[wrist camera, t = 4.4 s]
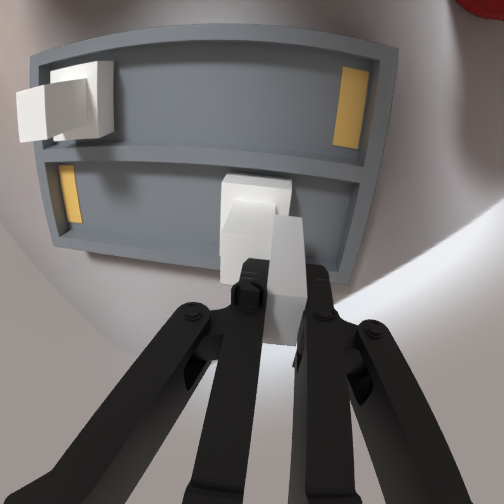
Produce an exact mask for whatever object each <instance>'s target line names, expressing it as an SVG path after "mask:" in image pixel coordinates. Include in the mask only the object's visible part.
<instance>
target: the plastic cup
mask: <svg viewBox="0 0 504 504" xmlns="http://www.w3.org/2000/svg"><path fill="white" fill-rule="evenodd" d="M456 1H457V2H458V3H459V4H460V5H461V6H463V7H464V8H465V9H466V10H467V11H469V12H471V13H473V14H475V15H477V16H479V17H482V18H485V19H494V20H502V21H504V0H456Z"/></svg>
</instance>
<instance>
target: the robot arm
mask: <svg viewBox="0 0 504 504" xmlns="http://www.w3.org/2000/svg"><path fill="white" fill-rule="evenodd" d="M329 280H330V279H329V272H328V271H327V270H326V268H325V267H324V266H323V265H316V264H307V263H305V250H304V236H303V223H302V218H301V217H293V216H284V215H275V216H274V226H273V236H272V245H271V254H270V260H264V259H255V258H248V259H247V260H246V261H245V262H244V263H243V265H242V269H241V274H240V278H239V281H238V282H237V283H235V284H234V285H233V287H232V288H231V305H229V306H228V307H226V308H223V309H219V310H211V311H210V310H209V309H208V308H207V306H205V305H203V304H201V303H197V302H189V303H185V304H183V305H181V306H180V307H179V308H177V309H176V311H175V312H174V313H173V314H172V316H171V317H170V318H169V319H168V321H167V322H166V323H165V324H164V326H163V327H162V328H161V329H160V331H159V332H158V333H157V334H156V336H155V337H154V338H153V339H152V341H151V342H150V343H149V344H148V346H147V347H146V348H145V349H144V351H143V352H142V353H141V354H140V356H139V357H138V358H137V359H136V361H135V362H134V363H133V365H132V366H131V367H130V368H129V370H128V371H127V372H126V374H125V375H124V376H123V377H122V379H121V380H120V381H119V382H118V384H117V385H116V386H115V388H114V389H113V390H112V391H111V393H110V394H109V395H108V397H107V398H106V399H105V400H104V402H103V403H102V404H101V406H100V407H99V409H98V410H97V411H96V412H95V413H94V415H93V416H92V417H91V419H90V420H89V421H88V423H87V424H86V426H85V427H84V428H83V429H82V431H81V432H80V433H79V435H78V436H77V437H76V439H75V440H74V441H73V442H72V444H71V445H70V446H69V448H68V449H67V450H66V452H65V453H64V455H63V456H62V457H61V459H60V460H59V461H58V463H57V464H56V465H55V467H54V468H53V469H52V471H50V472H48V473H47V474H45V475H43V476H42V477H40V478H38V479H36V480H35V481H33V482H32V483H30V484H28V485H26V486H24V487H23V488H21V489H19V490H17V491H16V492H14V493H12V494H10V495H9V496H8V497H7V498H6V499H5V501H4V504H125V502H126V501H127V499H128V498H129V496H130V495H131V493H132V492H133V490H134V488H135V487H136V485H137V484H138V482H139V480H140V479H141V477H142V475H143V474H144V472H145V471H146V469H147V467H148V466H149V464H150V463H151V461H152V460H153V458H154V456H155V455H156V453H157V452H158V450H159V448H160V447H161V445H162V443H163V442H164V440H165V438H166V437H167V435H168V434H169V432H170V430H171V429H172V427H173V425H174V424H175V422H176V420H177V419H178V417H179V415H180V414H181V412H182V411H183V409H184V407H185V405H186V404H187V402H188V400H189V399H190V397H191V396H192V394H193V392H194V391H195V389H196V387H197V386H198V383H199V382H200V380H201V379H202V377H203V376H204V374H205V372H206V370H207V369H208V367H209V365H210V364H211V361H212V360H218V363H217V367H216V372H215V376H214V380H213V385H212V389H211V393H210V398H209V403H208V407H207V411H206V415H205V420H204V424H203V429H202V433H201V438H200V442H199V446H198V451H197V455H196V460H195V464H194V469H193V473H192V477H191V481H190V483H189V484H188V486H187V488H186V490H185V494H184V497H183V501H182V504H242V503H243V495H244V486H245V479H246V472H247V464H248V456H249V449H250V441H251V433H252V425H253V417H254V409H255V400H256V393H257V384H258V376H259V367H260V358H261V349H262V343H269V344H277V345H288V346H296V343H297V351H296V355H295V358H294V362H293V366H292V367H295V380H294V409H293V431H292V432H293V433H292V452H291V468H290V482H289V495H288V504H362V500H361V497H360V496H359V495H358V494H357V493H356V491H355V481H354V455H353V438H352V424H351V411H350V401H351V404H352V406H353V409H354V412H355V415H356V418H357V420H358V423H359V426H360V429H361V431H362V434H363V437H364V440H365V442H366V446H367V448H368V451H369V454H370V457H371V460H372V463H373V466H374V469H375V472H376V475H377V478H378V481H379V484H380V487H381V490H382V493H383V496H384V499H385V502H386V504H473V503H472V502H471V500H470V497H469V494H468V492H467V489H466V487H465V484H464V482H463V479H462V477H461V475H460V472H459V469H458V467H457V465H456V463H455V460H454V458H453V455H452V453H451V451H450V449H449V446H448V444H447V442H446V440H445V438H444V435H443V433H442V431H441V429H440V427H439V425H438V423H437V421H436V418H435V416H434V414H433V412H432V410H431V408H430V406H429V404H428V402H427V400H426V398H425V396H424V394H423V392H422V390H421V388H420V386H419V384H418V382H417V381H416V379H415V377H414V375H413V373H412V371H411V369H410V367H409V365H408V364H407V362H406V360H405V358H404V356H403V354H402V353H401V351H400V349H399V347H398V346H397V344H396V342H395V340H394V338H393V336H392V335H391V333H390V331H389V329H388V328H387V327H386V326H385V325H384V324H383V323H381V322H379V321H376V320H369V319H368V320H365V321H362V322H361V323H360V324H359V326H358V325H355V324H352V323H349V322H346V321H344V320H343V319H341V318H340V316H339V314H338V312H337V311H336V310H335V309H334V306H333V299H332V292H331V287H330V281H329Z"/></svg>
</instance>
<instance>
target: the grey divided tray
mask: <svg viewBox="0 0 504 504" xmlns="http://www.w3.org/2000/svg"><path fill="white" fill-rule="evenodd" d="M398 50H399V49H397V48H394V47H390V46H387V45H383V44H379V43H375V42H371V41H367V40H363V39H359V38H354V37H349V36H345V35H339V34H334V33H328V32H322V31H316V30H309V29H302V28H293V27H284V26H272V25H257V24H191V25H176V26H164V27H155V28H147V29H139V30H133V31H126V32H121V33H115V34H110V35H105V36H100V37H95V38H91V39H87V40H83V41H79V42H75V43H71V44H67V45H64V46H60V47H57V48H54V49H50V50H47V51H44V52H41V53H38V54H35V55H32V56H30V88H33V87H37V86H41V85H45V84H50V71H54V70H58V69H62V68H66V67H70V66H75V65H79V64H84V63H89V62H94V61H114V74H113V107H114V132H112V133H110V134H107V135H105V136H103V137H100V138H93V139H76V140H63V141H54V139H53V137H52V138H50V139H47V140H37V141H34V150H35V158H36V165H37V171H38V177H39V183H40V189H41V194H42V199H43V204H44V209H45V213H46V218H47V222H48V226H49V230H50V234H51V238H52V242H53V245H54V246H55V247H62V248H68V249H74V250H81V251H87V252H94V253H100V254H107V255H113V256H120V257H127V258H134V259H141V260H148V261H155V262H162V263H169V264H176V265H184V266H191V267H199V268H206V269H214V270H220V260H221V256H220V215H221V185H222V181H223V179H224V177H225V176H226V174H227V172H234V173H245V174H255V175H264V176H273V177H282V178H290V179H292V193H291V201H290V208H289V215H288V216H293V217H301V218H302V223H303V236H304V250H305V263H307V264H316V265H323V266H324V267H325V268H326V270H327V271H328V272H329V279H330V280H329V281H330V283H331V284H340V285H349V282H350V279H351V275H352V272H353V269H354V266H355V262H356V259H357V256H358V252H359V249H360V245H361V242H362V238H363V234H364V231H365V227H366V223H367V220H368V216H369V212H370V208H371V204H372V200H373V196H374V191H375V187H376V183H377V178H378V174H379V169H380V165H381V160H382V155H383V150H384V145H385V140H386V134H387V129H388V123H389V117H390V111H391V105H392V98H393V92H394V84H395V77H396V69H397V60H398Z"/></svg>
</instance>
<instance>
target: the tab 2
mask: <svg viewBox="0 0 504 504" xmlns="http://www.w3.org/2000/svg"><path fill="white" fill-rule="evenodd" d="M291 193H292V179H290V178H282V177H273V176H264V175H255V174H245V173H234V172H227V174H226V176H225V177H224V179H223V181H222V185H221V215H220V256H221V260H220V283H223V284H230V285H234V284H235V283H237V282H238V281H239V278H240V274H241V269H242V265H243V263H244V262H245V261H246V260H247V259H248V258H255V259H264V260H270V254H271V245H272V236H273V226H274V216H275V215H284V216H288V215H289V208H290V201H291Z"/></svg>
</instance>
